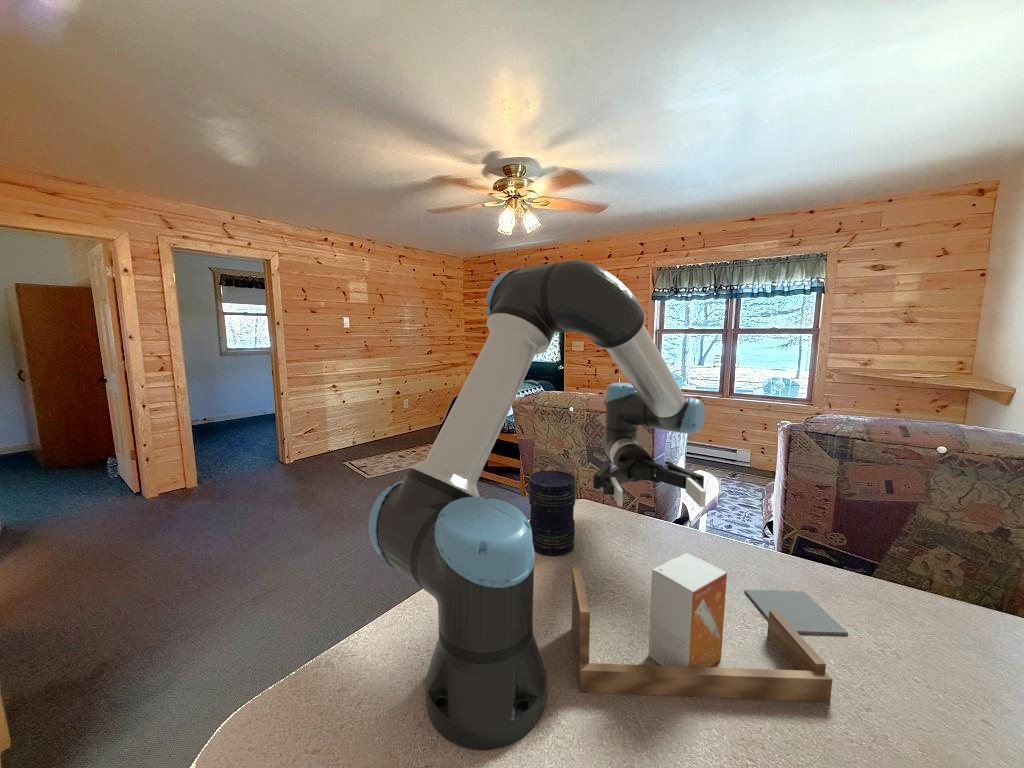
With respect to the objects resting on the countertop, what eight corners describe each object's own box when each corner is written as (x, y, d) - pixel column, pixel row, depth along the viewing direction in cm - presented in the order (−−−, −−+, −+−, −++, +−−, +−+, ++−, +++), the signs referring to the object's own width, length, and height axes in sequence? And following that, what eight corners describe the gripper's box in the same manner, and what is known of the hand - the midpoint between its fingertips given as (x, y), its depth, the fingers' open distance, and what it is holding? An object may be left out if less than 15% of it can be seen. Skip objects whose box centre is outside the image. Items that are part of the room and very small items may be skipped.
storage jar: (550, 529, 95) (550, 467, 93) (584, 545, 87) (585, 478, 86) (519, 544, 88) (519, 477, 86) (553, 562, 81) (554, 490, 79)
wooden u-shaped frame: (580, 692, 51) (581, 618, 50) (571, 628, 62) (572, 567, 61) (830, 701, 50) (837, 626, 49) (775, 635, 61) (780, 572, 60)
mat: (779, 633, 61) (779, 630, 61) (744, 591, 71) (744, 589, 71) (847, 635, 61) (848, 632, 61) (803, 593, 71) (803, 591, 71)
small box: (688, 687, 52) (692, 592, 50) (647, 655, 57) (650, 568, 56) (723, 660, 56) (728, 571, 55) (681, 632, 61) (685, 551, 60)
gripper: (687, 476, 89) (736, 520, 68) (573, 476, 90) (586, 519, 69) (689, 443, 88) (739, 477, 67) (573, 443, 89) (586, 476, 68)
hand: (661, 498), depth 68 cm, fingers open, 13 cm apart
